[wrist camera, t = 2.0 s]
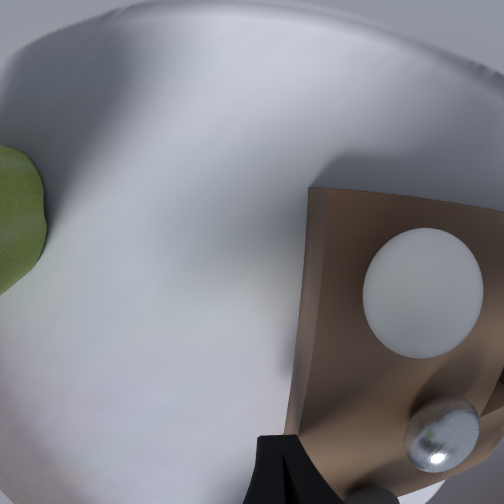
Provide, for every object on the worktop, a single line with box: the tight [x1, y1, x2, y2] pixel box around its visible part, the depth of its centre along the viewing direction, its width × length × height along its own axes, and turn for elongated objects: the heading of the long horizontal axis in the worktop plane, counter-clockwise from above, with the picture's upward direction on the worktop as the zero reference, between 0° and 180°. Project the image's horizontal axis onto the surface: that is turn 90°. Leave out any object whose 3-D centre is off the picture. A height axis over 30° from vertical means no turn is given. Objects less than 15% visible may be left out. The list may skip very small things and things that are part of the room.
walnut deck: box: [284, 187, 504, 501], centre depth 12 cm, size 18×17×2 cm
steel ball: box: [403, 395, 480, 473], centre depth 9 cm, size 4×4×4 cm
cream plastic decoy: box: [363, 228, 483, 359], centre depth 7 cm, size 4×4×4 cm
